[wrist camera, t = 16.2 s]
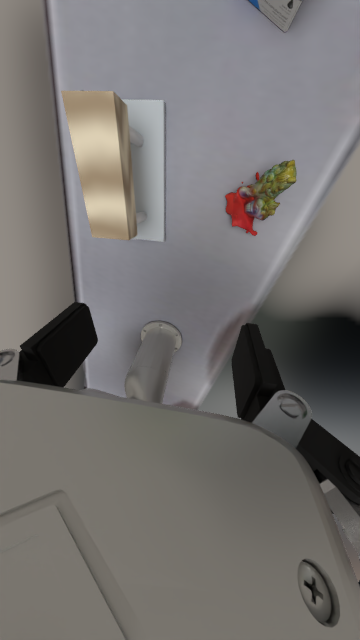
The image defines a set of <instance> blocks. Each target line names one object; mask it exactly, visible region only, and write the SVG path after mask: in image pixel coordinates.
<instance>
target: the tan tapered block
mask: <svg viewBox="0 0 360 640" xmlns="http://www.w3.org/2000/svg"><path fill="white" fill-rule="evenodd" d="M61 92H62V97H63V102H64V106H65V111H66V116H67V120H68V125H69V130H70V134H71V139H72V144H73V148H74V153H75V158H76V162H77V167H78V172H79V177H80V181H81V186H82V191H83V195H84V200H85V205H86V209H87V214H88V219H89V223H90V228H91V233H92V237H97V238H109V239H121V240H130V239H132V238H134V237H135V236H137V235H138V233H137V221H136V208H135V196H134V184H133V171H132V159H131V146H130V134H129V121H128V109H127V105H126V104H125V103H124V102H123V101H122V100H121V99H120V98H119V97H118V96H117V95H116V94H115V93H114V92H113V91H61Z"/></svg>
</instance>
